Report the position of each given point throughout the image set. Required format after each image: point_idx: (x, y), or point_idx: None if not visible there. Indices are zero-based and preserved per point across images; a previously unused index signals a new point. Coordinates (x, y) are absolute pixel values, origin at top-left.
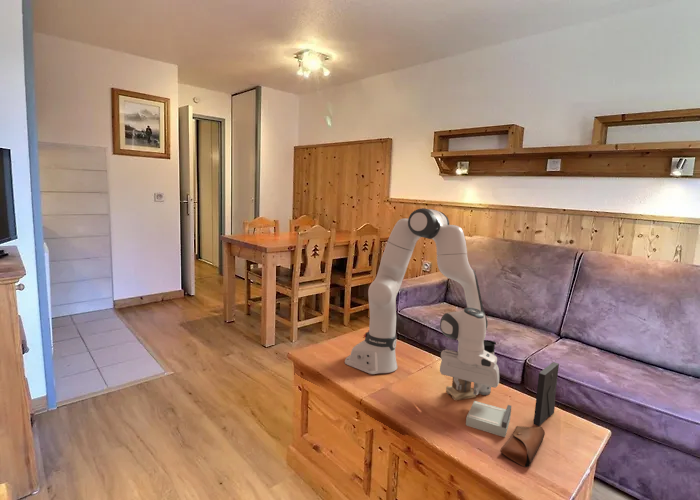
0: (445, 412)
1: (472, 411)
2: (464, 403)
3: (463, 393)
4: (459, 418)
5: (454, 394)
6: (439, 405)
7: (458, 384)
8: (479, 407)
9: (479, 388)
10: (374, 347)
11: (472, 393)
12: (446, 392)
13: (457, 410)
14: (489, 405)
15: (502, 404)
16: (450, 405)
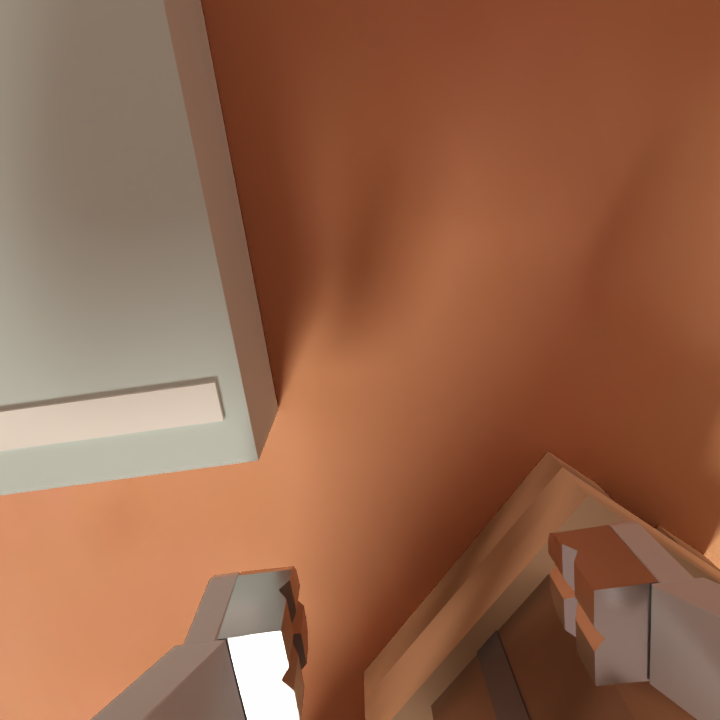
0: (562, 34)
1: (113, 49)
2: (421, 458)
3: (494, 597)
4: (331, 9)
5: (599, 499)
6: (695, 176)
7: (663, 621)
8: (93, 300)
9: (117, 706)
10: None
11: (398, 685)
12: (699, 553)
13: (435, 220)
14: (5, 474)
15: (67, 710)
16: (559, 286)
